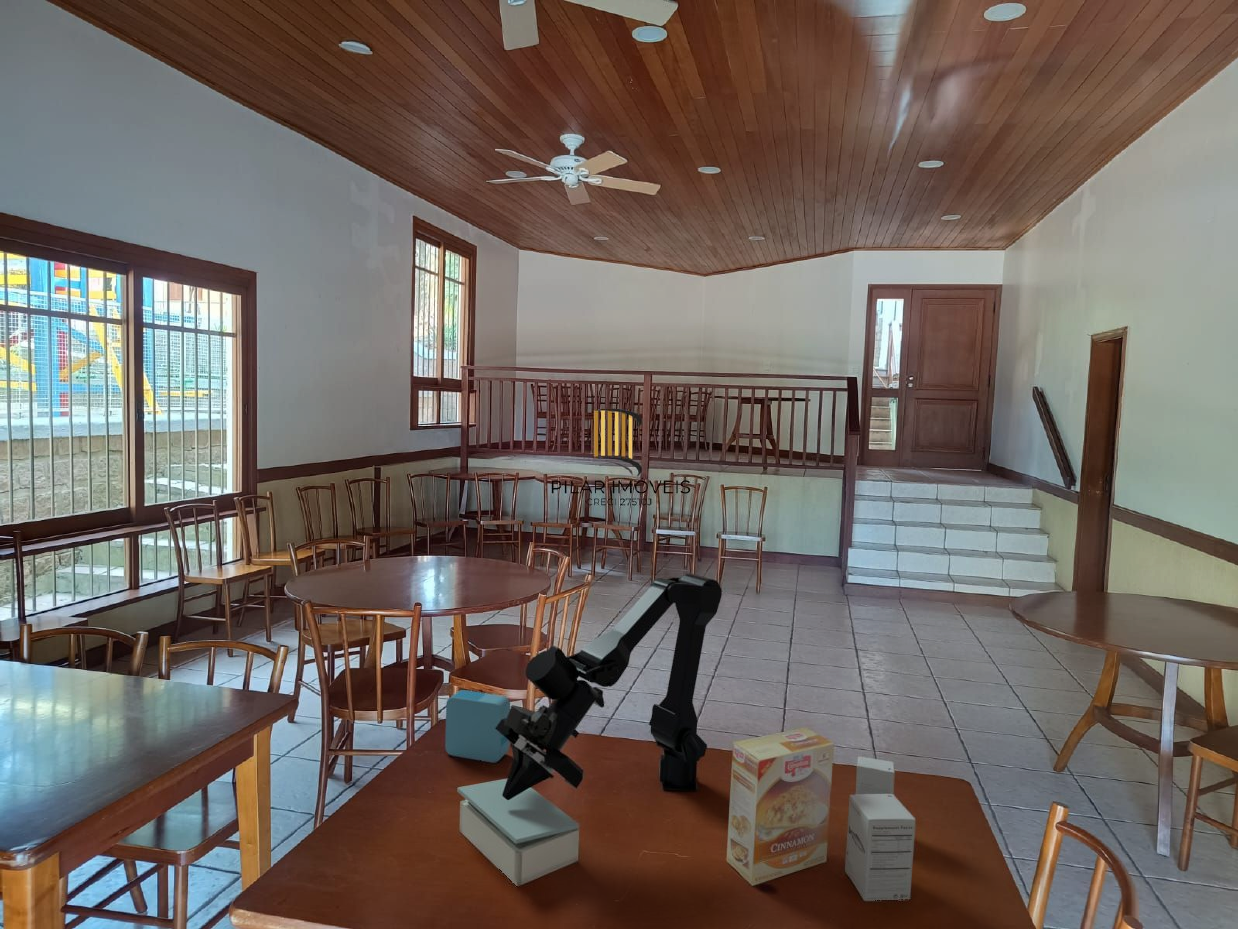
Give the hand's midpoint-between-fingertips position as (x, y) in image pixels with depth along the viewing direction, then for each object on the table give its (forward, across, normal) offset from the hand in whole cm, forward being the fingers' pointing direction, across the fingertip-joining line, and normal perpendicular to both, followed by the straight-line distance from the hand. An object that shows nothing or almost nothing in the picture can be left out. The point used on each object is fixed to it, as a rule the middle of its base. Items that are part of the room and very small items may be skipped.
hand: (504, 798), depth 119 cm
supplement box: (-22, +40, +35) cm, 58 cm away
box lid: (0, 0, +3) cm, 3 cm away
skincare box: (-32, +31, +44) cm, 63 cm away
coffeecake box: (-17, +27, +30) cm, 44 cm away
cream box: (+4, 0, +8) cm, 9 cm away
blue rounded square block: (-3, -32, +15) cm, 35 cm away
